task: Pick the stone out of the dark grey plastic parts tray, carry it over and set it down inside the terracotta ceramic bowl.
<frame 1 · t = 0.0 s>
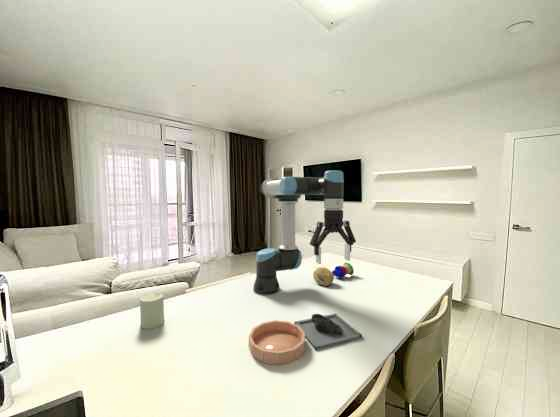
hand: (333, 261, 99), 28 cm above the table, fingers open, 13 cm apart
can: (152, 323, 105), on the table
bowl: (277, 345, 89), on the table
toy figure: (343, 277, 164), on the table
stone: (326, 330, 98), resting on parts tray
parts tray: (326, 331, 98), on the table
stone 2: (323, 283, 151), on the table
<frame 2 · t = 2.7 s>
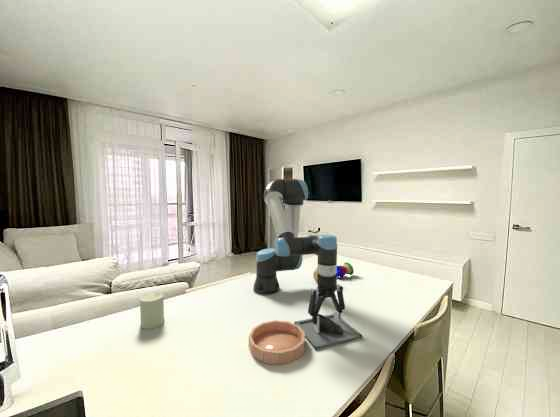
hand: (326, 328, 98), 1 cm above the table, fingers closed on stone, 8 cm apart
stone: (327, 330, 98), resting on parts tray, touching gripper
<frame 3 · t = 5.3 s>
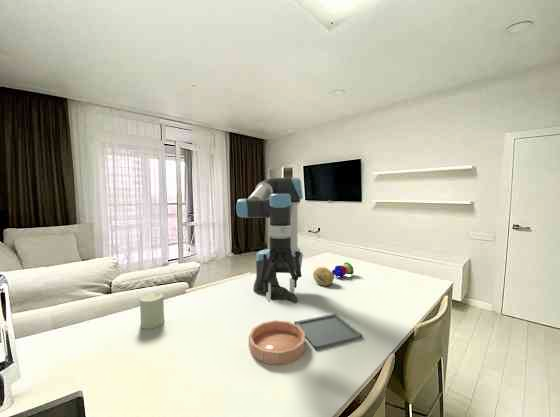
hand: (280, 298, 88), 17 cm above the table, fingers closed on stone, 8 cm apart
stone: (281, 300, 88), point 17 cm above the table, touching gripper
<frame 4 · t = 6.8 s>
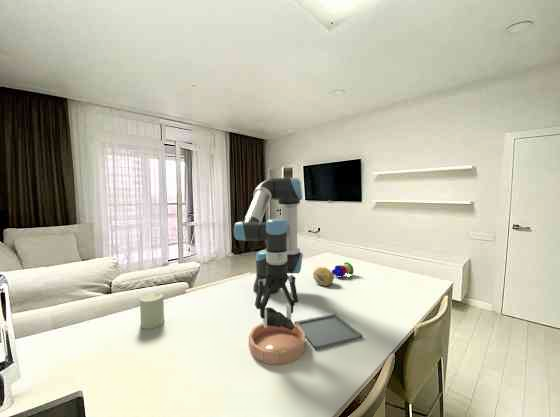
hand: (277, 323, 88), 8 cm above the table, fingers closed on stone, 8 cm apart
stone: (277, 325, 88), point 8 cm above the table, touching gripper
when the fingers open (4 cm above the table, at t = 7.9 s): stone drops 3 cm, resting on bowl.
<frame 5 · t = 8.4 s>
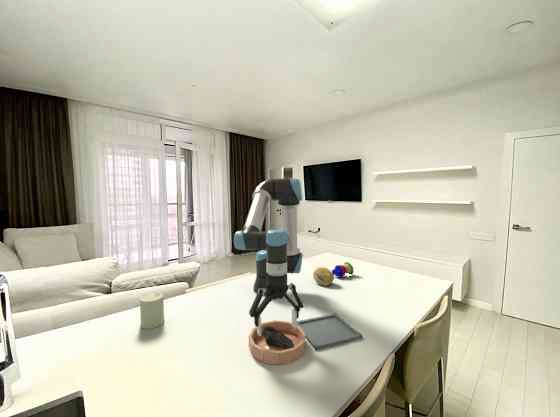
hand: (277, 330, 88), 6 cm above the table, fingers open, 13 cm apart
stone: (278, 344, 89), resting on bowl
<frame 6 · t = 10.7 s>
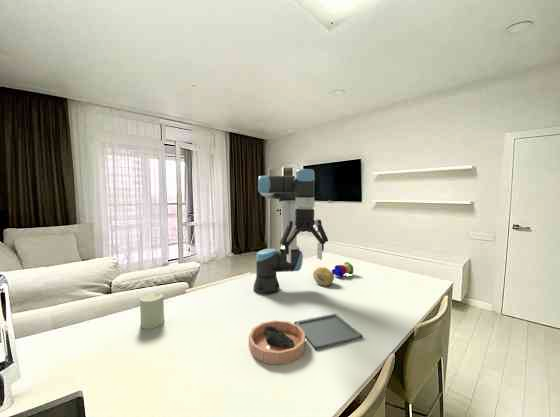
hand: (304, 260, 99), 28 cm above the table, fingers open, 13 cm apart
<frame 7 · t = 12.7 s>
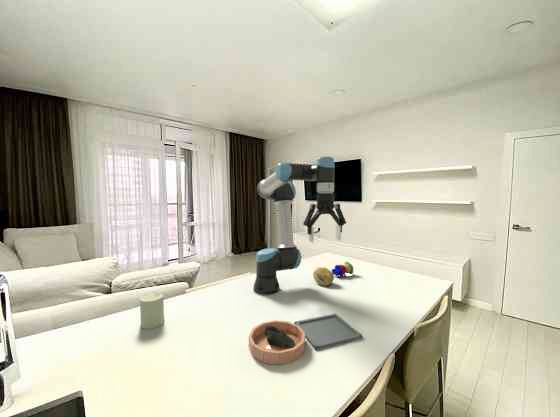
hand: (325, 240, 108), 35 cm above the table, fingers open, 13 cm apart
at the end: stone 1.1 cm from the bowl (horizontally); stone resting on bowl; the gripper is holding nothing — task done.
